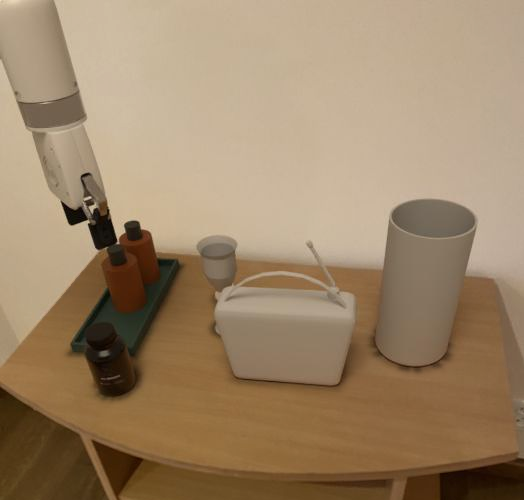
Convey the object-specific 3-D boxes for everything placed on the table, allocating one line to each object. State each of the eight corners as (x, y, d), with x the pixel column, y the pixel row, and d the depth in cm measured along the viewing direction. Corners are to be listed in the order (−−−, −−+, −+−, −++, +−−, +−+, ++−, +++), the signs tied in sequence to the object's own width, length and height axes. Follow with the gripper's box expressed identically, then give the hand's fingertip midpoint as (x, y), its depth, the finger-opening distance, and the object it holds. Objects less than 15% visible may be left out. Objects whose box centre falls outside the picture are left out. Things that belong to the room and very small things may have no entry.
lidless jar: (223, 307, 103) (243, 297, 105) (221, 295, 101) (242, 286, 103) (210, 295, 106) (231, 287, 108) (209, 284, 104) (229, 275, 106)
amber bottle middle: (107, 307, 105) (89, 252, 96) (130, 290, 109) (115, 236, 100) (131, 316, 102) (114, 261, 93) (154, 299, 106) (140, 244, 97)
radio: (352, 356, 90) (362, 229, 73) (350, 390, 84) (360, 260, 67) (232, 347, 94) (215, 225, 77) (222, 379, 88) (201, 254, 71)
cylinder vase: (382, 317, 98) (397, 194, 81) (449, 329, 94) (480, 203, 77) (368, 360, 89) (381, 232, 72) (442, 375, 85) (474, 244, 69)
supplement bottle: (112, 403, 85) (92, 350, 77) (89, 385, 89) (68, 332, 81) (144, 381, 89) (128, 328, 81) (121, 364, 92) (104, 311, 84)
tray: (134, 356, 94) (131, 347, 92) (73, 352, 96) (69, 343, 94) (179, 266, 116) (178, 258, 114) (129, 264, 118) (127, 257, 116)
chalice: (202, 329, 98) (187, 247, 86) (226, 311, 102) (215, 231, 90) (229, 343, 95) (218, 260, 83) (253, 325, 98) (246, 243, 86)
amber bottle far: (123, 281, 112) (107, 227, 103) (144, 266, 116) (131, 213, 107) (146, 289, 109) (132, 235, 100) (167, 273, 113) (155, 220, 104)
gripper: (1, 103, 67) (46, 222, 78) (48, 135, 56) (93, 267, 67) (56, 90, 70) (92, 206, 81) (111, 117, 59) (143, 246, 71)
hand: (92, 233), depth 74 cm, fingers open, 9 cm apart
